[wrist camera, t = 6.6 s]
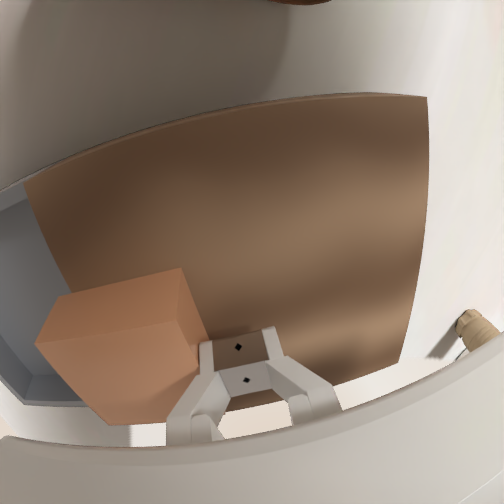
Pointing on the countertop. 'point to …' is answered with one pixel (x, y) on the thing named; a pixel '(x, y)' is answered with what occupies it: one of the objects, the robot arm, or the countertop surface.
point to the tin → (301, 2)
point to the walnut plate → (261, 222)
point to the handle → (475, 330)
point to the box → (28, 303)
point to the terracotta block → (127, 346)
